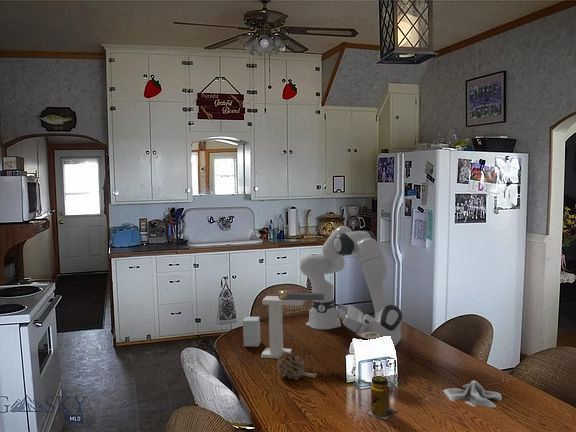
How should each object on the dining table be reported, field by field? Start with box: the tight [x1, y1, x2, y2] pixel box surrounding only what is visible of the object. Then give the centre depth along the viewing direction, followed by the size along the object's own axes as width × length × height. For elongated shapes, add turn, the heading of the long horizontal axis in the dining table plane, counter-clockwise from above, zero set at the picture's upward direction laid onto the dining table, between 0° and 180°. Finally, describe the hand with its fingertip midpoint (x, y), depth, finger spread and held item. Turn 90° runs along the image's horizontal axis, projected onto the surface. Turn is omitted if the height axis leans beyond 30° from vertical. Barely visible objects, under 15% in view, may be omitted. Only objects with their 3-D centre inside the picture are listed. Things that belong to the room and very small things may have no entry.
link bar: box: [278, 289, 324, 301], centre depth 224 cm, size 4×20×3 cm, turn 78°
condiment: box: [366, 375, 398, 420], centre depth 171 cm, size 7×8×12 cm
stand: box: [260, 295, 306, 359], centre depth 227 cm, size 9×19×26 cm, turn 78°
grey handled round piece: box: [276, 352, 318, 381], centre depth 199 cm, size 22×10×10 cm, turn 47°
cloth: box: [442, 380, 503, 408], centre depth 181 cm, size 22×19×6 cm
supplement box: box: [242, 316, 262, 347], centre depth 243 cm, size 7×7×13 cm
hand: (336, 307), depth 221 cm, fingers open, 8 cm apart
